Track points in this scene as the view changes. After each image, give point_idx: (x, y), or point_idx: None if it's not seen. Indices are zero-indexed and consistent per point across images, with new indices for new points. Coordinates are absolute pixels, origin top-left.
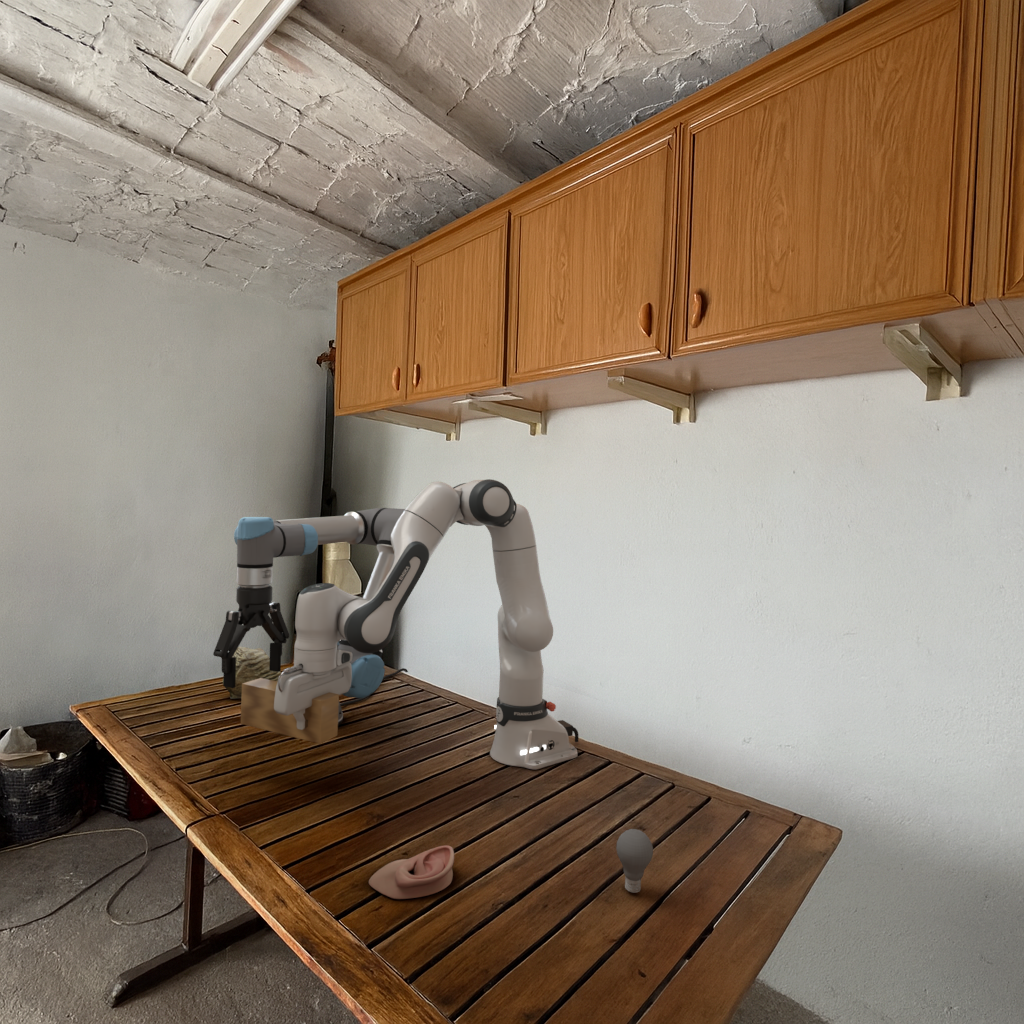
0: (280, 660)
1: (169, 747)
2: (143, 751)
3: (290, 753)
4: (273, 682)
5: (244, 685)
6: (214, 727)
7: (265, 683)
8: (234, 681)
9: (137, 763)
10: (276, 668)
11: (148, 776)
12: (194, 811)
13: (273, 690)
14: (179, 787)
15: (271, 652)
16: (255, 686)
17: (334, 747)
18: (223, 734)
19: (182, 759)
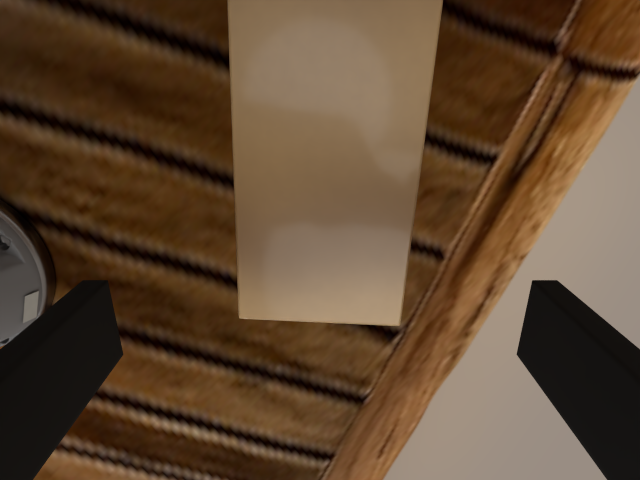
0: (29, 329)
1: (311, 432)
2: (354, 455)
3: (172, 166)
4: (271, 168)
5: (402, 300)
6: (173, 439)
7: (322, 200)
8: (566, 302)
9: (406, 420)
10: (98, 310)
11: (449, 356)
12: (566, 124)
13: (442, 2)
14: (469, 258)
15: (31, 456)
16: (413, 209)
17: (54, 74)
18: (189, 395)
19: (347, 365)
